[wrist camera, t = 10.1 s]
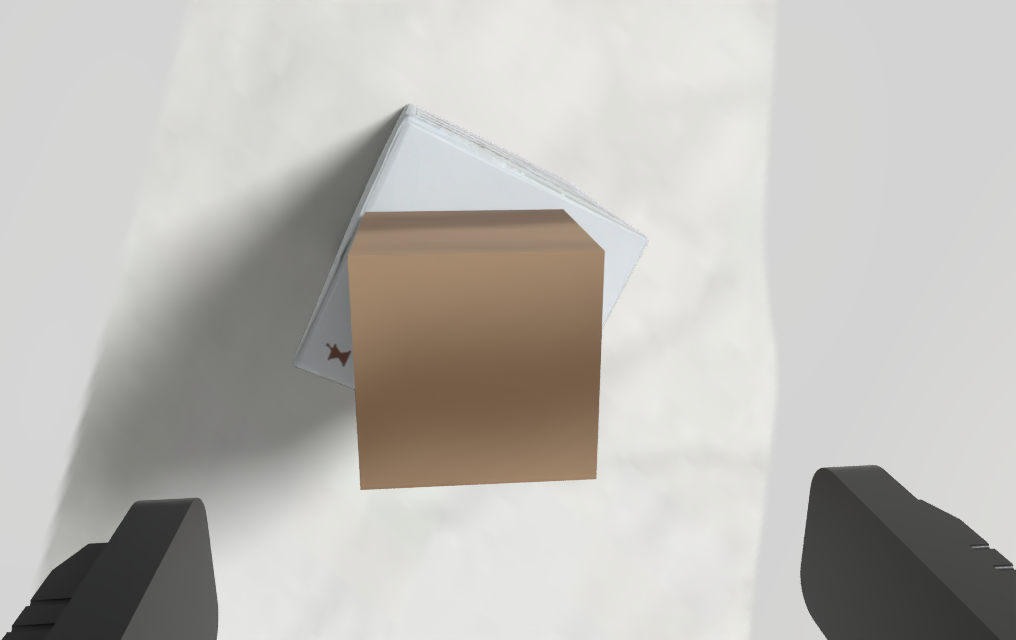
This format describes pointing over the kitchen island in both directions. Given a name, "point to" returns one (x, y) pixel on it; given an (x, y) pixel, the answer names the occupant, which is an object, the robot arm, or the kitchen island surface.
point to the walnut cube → (475, 347)
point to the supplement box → (453, 187)
